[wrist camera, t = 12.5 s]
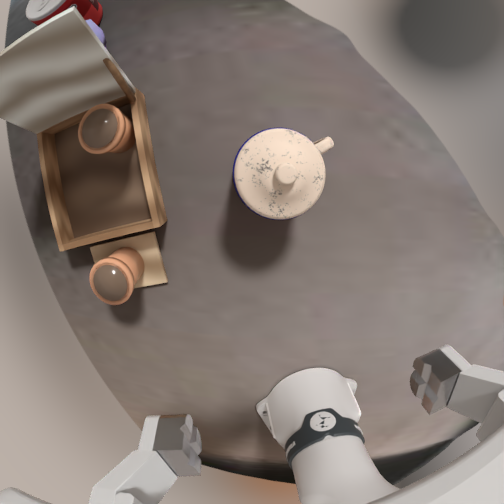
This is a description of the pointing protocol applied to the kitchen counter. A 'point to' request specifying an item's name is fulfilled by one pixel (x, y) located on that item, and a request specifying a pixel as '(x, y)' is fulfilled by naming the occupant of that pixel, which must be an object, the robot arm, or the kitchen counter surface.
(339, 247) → the kitchen counter surface
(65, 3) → the canned food
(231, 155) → the kitchen counter surface
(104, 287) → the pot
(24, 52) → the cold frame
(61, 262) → the kitchen counter surface
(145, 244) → the cork mat
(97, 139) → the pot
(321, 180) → the teacup with lid
